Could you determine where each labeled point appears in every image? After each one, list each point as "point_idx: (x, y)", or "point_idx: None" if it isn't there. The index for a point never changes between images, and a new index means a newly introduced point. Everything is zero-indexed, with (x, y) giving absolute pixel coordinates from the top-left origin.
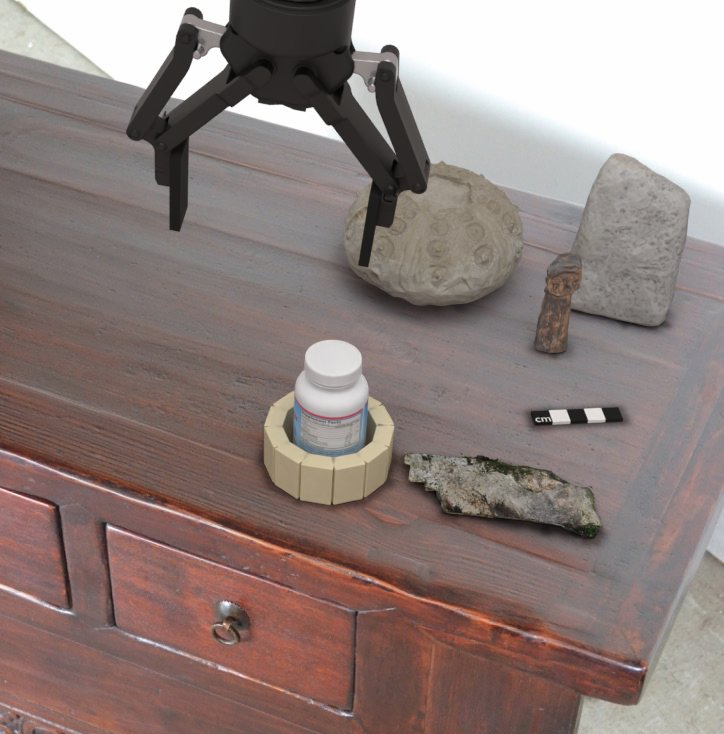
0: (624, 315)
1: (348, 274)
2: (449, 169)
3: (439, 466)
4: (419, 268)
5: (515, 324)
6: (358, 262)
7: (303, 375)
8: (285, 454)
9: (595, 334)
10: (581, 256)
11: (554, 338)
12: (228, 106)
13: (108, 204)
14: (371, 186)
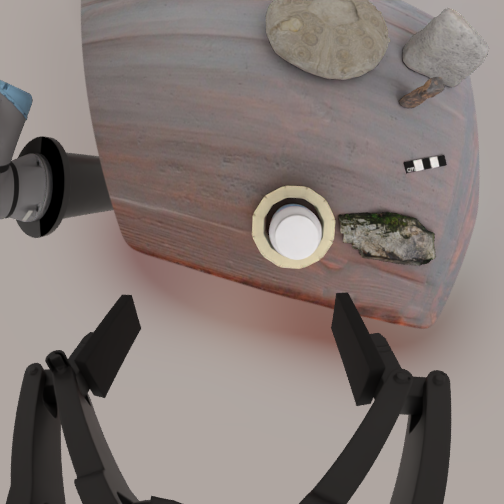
0: None
1: None
2: None
3: (360, 232)
4: (331, 67)
5: (384, 80)
6: (332, 331)
7: (274, 233)
8: (270, 260)
9: None
10: (424, 52)
11: (413, 105)
12: (129, 489)
13: (125, 41)
14: (361, 395)
